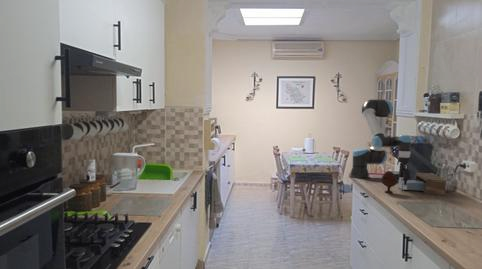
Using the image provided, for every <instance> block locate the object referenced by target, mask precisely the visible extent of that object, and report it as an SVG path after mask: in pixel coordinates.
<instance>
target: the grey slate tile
mask: <svg viewBox="0 0 482 269" xmlns="http://www.w3.org/2000/svg"><path fill="white" fill-rule="evenodd" d="M425 184H426V181H415V180H413V179H412V180H410V179H408V180H407V191H421V192H423V190H425ZM397 186H398V188H399V189H400V190H401V191H402V190H403V180H399V179H398V182H397ZM403 191H404V190H403Z"/></svg>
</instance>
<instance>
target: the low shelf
mask: <svg viewBox="0 0 482 269" xmlns="http://www.w3.org/2000/svg"><path fill="white" fill-rule="evenodd" d="M414 181H426V184H425V190H423V191H422V192H423V193H424V194H425V195H435V196H437V195H439V196H441V195H442V196H446V185H447V184H446V183H447V182H446V181H447V180H446V179H444V178H443V177H441V176H439V175H438V174H435V173H432V172H429V173H428V172H415V180H414Z"/></svg>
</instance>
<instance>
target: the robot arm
mask: <svg viewBox="0 0 482 269" xmlns="http://www.w3.org/2000/svg"><path fill="white" fill-rule="evenodd" d="M392 113H393V103H392V101H391V100H390V99H385V98H384V99H383V98H382V99H368V100H366V101H365V102H364V103H363V104H362V106H361V114H362V116H363V117H364V118H365V120H366V122H367V125H368V128H369V129H370V132H371V134H372V138H371V139H372V140H371V143H372V144H371V146H370V147H369V149H368V148H356V149H353V151H352V167H351V171H350V173H349V176H350V178H356V179H368V178H370V173H369V168H368V165H383V164H385V163H386V161H387V159H388V158H387V157H388V155H387V154H388V153H387V151H386V150H385V148H398V157H397V158H398V163H399V170H398V176H399V179H398V181H399V180H403V191H406V190H407V180H409V165H408V164H409V163H411V158H410V157H411V154H412V152H411V146H412V136H411V135H410V134H400V135H399V136H396V135H395V136H385V133H386V124H387V119H388V118H390V116H389V115H392ZM407 191H408V190H407Z"/></svg>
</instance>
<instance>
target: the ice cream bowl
mask: <svg viewBox="0 0 482 269" xmlns="http://www.w3.org/2000/svg"><path fill="white" fill-rule="evenodd" d="M380 181H381V183H382V185H383V186H385V187H386V188H387V190H385V191H384V194H388V195H389V194H390V195H392V194H393V193H394V192H393V191H392V190H391V187H395V186H396V185H398V183H399V179H398V178H396V177H395V176H394V173H393V172H392V171H390V170H388V171H387V170H386V171H385V172H384V173H383V175H382V176H381V177H380Z"/></svg>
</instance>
